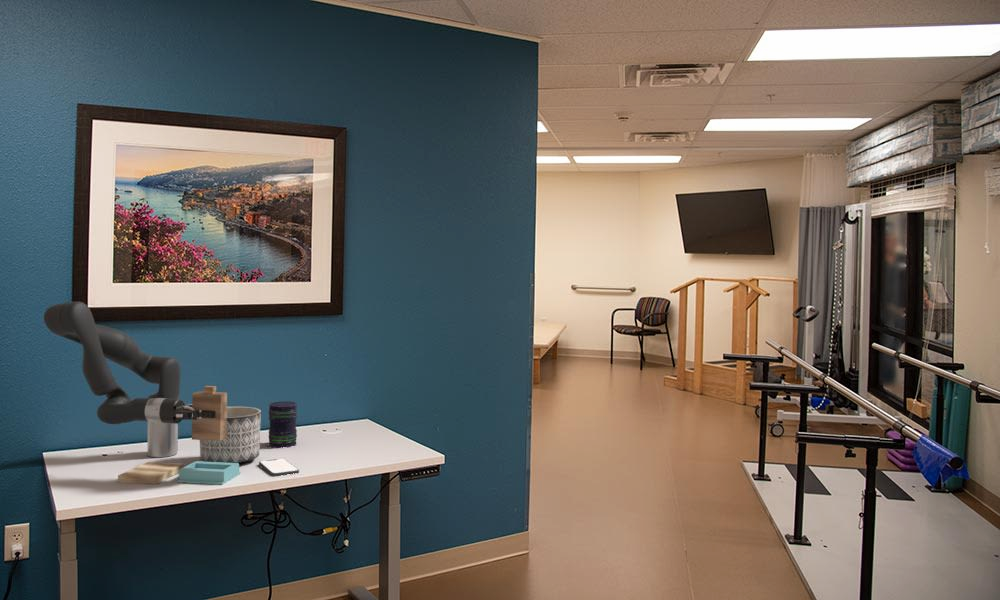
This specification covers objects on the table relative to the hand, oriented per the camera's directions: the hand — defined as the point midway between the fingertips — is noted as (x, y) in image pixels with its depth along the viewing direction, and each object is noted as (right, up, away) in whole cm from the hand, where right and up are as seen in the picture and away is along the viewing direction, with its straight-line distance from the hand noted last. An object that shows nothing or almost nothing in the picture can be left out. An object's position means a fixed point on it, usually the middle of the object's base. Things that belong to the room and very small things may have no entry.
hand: (218, 413), depth 233 cm
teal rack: (-3, -20, +1) cm, 20 cm away
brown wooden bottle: (-3, -8, +1) cm, 8 cm away
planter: (-4, -19, +22) cm, 29 cm away
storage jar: (+7, -18, +45) cm, 49 cm away
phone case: (+15, -21, +13) cm, 28 cm away
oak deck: (-21, -20, +2) cm, 29 cm away
